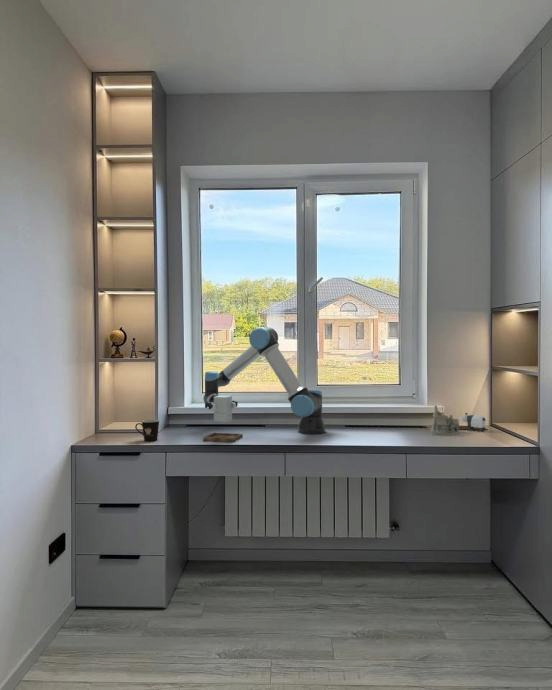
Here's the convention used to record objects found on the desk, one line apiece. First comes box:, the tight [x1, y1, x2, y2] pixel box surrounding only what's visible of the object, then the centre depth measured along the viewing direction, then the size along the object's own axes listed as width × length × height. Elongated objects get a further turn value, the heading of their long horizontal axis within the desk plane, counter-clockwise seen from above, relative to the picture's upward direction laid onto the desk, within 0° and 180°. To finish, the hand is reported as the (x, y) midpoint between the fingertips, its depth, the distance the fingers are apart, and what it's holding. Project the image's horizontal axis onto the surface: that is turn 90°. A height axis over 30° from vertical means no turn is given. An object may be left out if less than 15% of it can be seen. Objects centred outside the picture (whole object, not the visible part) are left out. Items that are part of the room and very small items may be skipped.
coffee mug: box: [135, 419, 160, 443], centre depth 269 cm, size 12×9×10 cm
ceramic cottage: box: [429, 405, 460, 437], centre depth 285 cm, size 16×16×15 cm
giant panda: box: [458, 412, 487, 433], centre depth 294 cm, size 15×6×10 cm, turn 47°
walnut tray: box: [203, 431, 244, 443], centre depth 270 cm, size 16×14×2 cm
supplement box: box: [213, 395, 233, 423], centre depth 270 cm, size 7×7×13 cm
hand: (224, 406), depth 266 cm, fingers closed on supplement box, 10 cm apart
